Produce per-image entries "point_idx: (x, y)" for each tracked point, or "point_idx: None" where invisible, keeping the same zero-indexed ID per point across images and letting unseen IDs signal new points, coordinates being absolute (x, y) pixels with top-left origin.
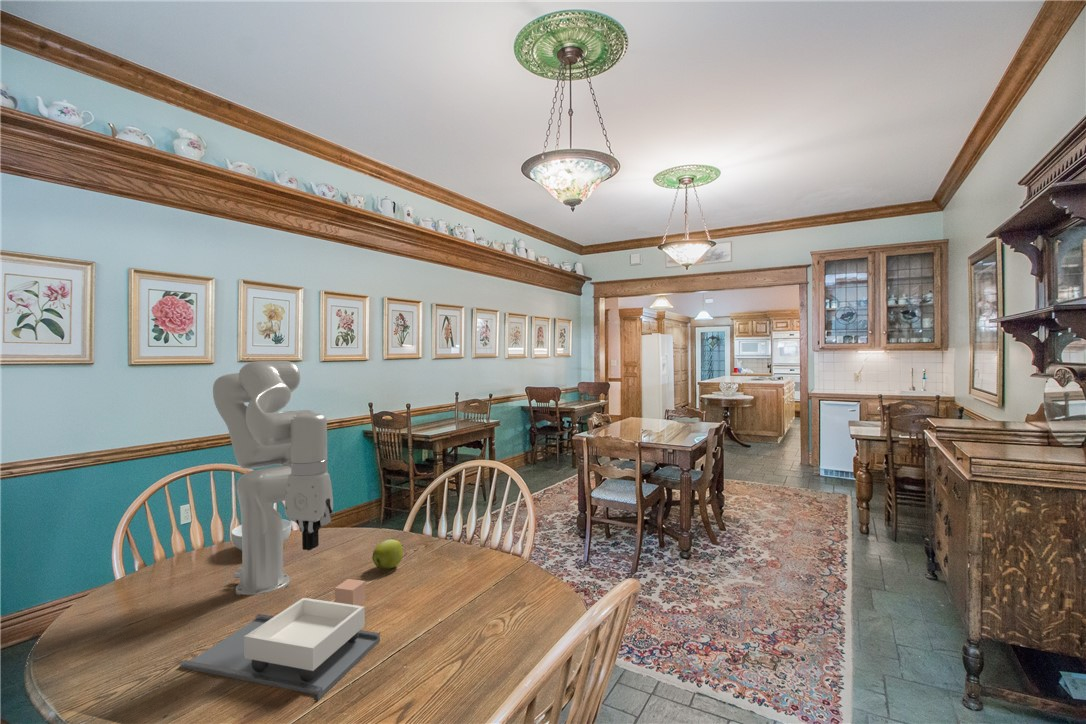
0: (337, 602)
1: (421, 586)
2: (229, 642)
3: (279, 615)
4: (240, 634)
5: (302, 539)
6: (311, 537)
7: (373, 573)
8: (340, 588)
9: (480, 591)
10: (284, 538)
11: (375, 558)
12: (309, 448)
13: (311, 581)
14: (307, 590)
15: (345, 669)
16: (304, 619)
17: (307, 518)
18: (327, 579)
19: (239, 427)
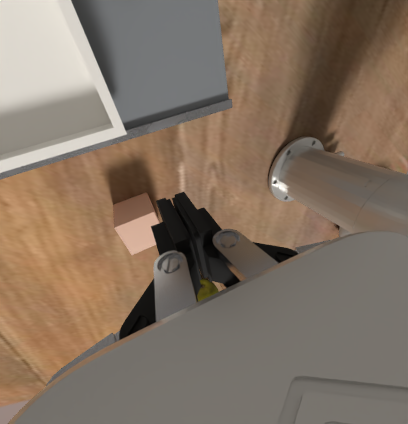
0: (144, 201)
1: (110, 297)
2: (199, 8)
3: (67, 18)
4: (207, 45)
5: (197, 211)
6: (166, 242)
7: (199, 269)
8: (142, 216)
9: (19, 345)
10: (341, 235)
11: (206, 286)
12: None
13: (251, 213)
14: (237, 199)
15: None
16: (85, 107)
17: (155, 350)
18: (237, 228)
19: None
